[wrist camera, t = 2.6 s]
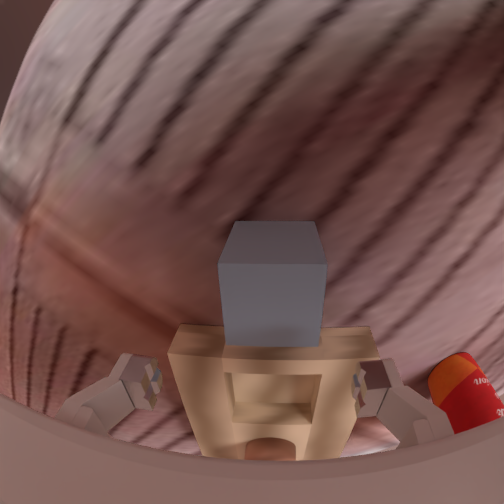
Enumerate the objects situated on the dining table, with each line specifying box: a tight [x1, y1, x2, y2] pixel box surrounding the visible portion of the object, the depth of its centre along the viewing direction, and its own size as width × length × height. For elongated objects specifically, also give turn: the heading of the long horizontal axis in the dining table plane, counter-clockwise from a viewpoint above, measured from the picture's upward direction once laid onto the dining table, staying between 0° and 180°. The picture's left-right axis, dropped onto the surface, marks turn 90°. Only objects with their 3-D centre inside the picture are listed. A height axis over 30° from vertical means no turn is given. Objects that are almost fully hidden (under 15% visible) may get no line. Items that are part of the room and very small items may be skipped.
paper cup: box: [428, 352, 504, 434], centre depth 17 cm, size 8×8×14 cm
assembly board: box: [167, 324, 380, 461], centre depth 23 cm, size 15×18×8 cm
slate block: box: [217, 221, 328, 347], centre depth 17 cm, size 5×5×6 cm
